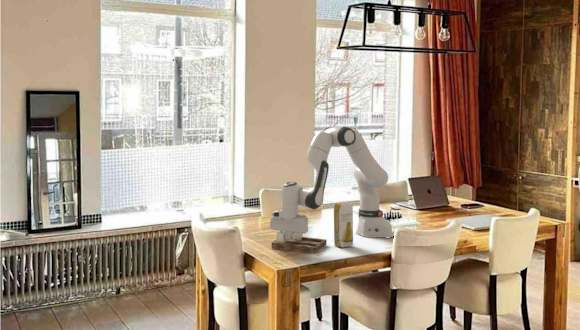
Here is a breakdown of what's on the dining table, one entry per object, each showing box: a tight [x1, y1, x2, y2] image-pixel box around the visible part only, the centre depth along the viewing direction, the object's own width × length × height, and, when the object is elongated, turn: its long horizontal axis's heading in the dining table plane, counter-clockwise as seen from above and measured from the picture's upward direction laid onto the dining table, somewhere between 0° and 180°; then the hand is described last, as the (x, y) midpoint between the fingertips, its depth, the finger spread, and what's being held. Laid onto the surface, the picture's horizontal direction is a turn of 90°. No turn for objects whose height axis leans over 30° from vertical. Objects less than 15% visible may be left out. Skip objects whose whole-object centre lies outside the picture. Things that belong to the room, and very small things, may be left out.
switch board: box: [271, 235, 327, 254], centre depth 337 cm, size 24×18×3 cm
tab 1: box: [275, 230, 286, 243], centre depth 335 cm, size 4×4×7 cm
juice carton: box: [333, 200, 354, 248], centre depth 339 cm, size 9×8×24 cm
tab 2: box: [292, 232, 303, 240], centre depth 342 cm, size 4×4×7 cm
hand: (288, 239), depth 334 cm, fingers closed
